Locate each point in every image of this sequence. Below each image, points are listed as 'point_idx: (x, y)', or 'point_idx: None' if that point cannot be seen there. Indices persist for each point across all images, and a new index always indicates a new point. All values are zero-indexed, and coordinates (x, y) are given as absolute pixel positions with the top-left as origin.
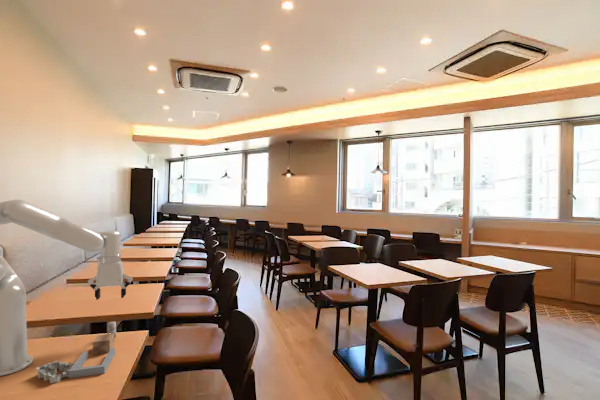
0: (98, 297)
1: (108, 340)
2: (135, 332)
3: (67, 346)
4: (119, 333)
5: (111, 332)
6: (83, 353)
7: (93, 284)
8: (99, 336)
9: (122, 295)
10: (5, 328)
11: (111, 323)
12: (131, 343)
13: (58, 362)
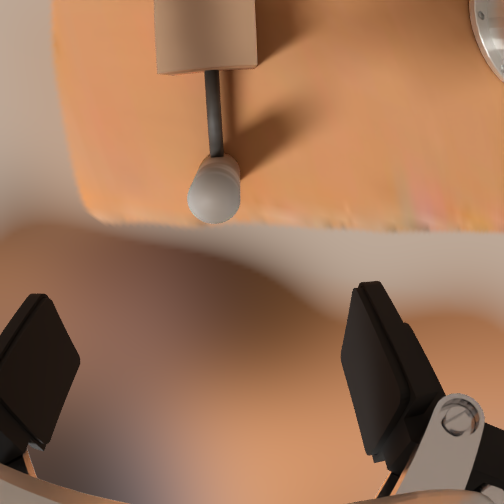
0: (357, 314)
1: None
2: (119, 207)
3: (404, 119)
4: None
5: (211, 160)
6: None
7: (497, 492)
8: (238, 43)
9: (19, 312)
10: None
11: (212, 192)
12: (94, 87)
13: None
